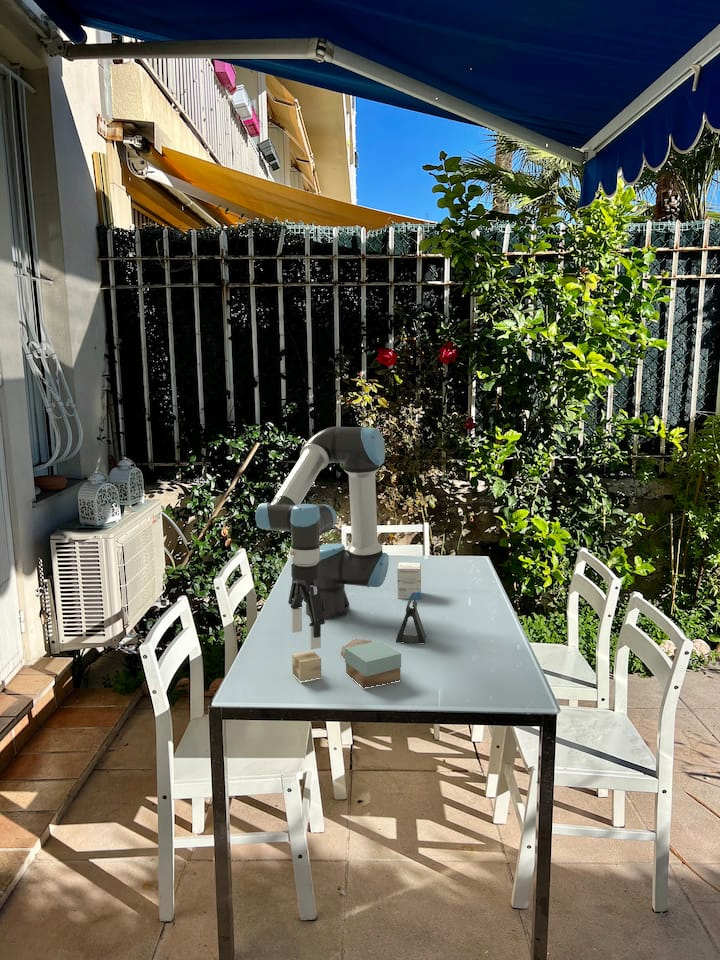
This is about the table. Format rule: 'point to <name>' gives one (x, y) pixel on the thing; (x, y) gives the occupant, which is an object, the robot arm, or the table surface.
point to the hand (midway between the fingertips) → (305, 639)
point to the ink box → (409, 580)
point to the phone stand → (418, 625)
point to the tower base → (373, 677)
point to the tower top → (372, 658)
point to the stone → (354, 644)
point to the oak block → (306, 665)
